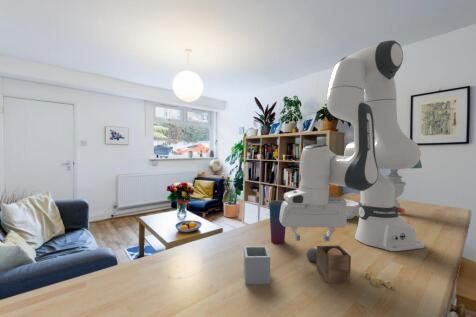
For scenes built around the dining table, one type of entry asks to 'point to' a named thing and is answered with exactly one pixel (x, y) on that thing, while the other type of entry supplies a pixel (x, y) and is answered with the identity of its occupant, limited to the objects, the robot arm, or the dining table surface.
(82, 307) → the dining table surface
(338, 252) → the terracotta ball
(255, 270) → the grey square open box
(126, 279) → the dining table surface
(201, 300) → the dining table surface
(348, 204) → the white purple floral bowl
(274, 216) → the cup
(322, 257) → the walnut tube
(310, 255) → the charcoal ball
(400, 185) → the table lamp
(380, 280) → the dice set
